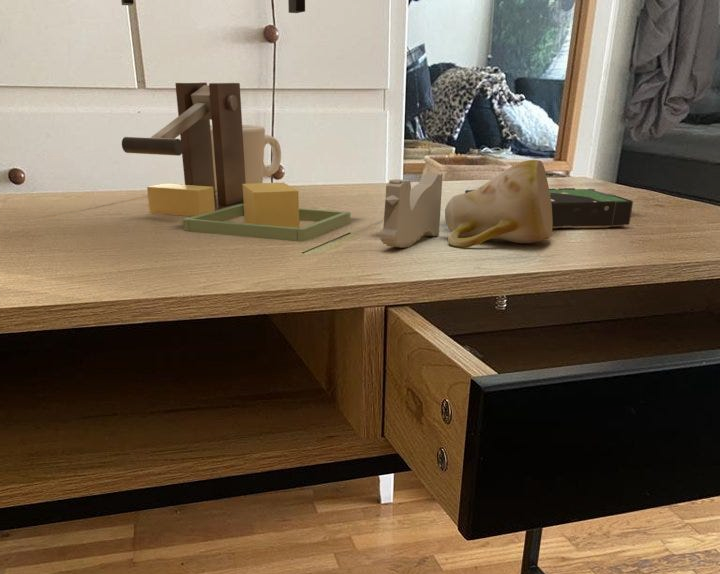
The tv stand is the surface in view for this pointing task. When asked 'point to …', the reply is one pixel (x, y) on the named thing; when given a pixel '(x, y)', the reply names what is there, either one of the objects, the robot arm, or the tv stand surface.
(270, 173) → the cup
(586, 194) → the disk drive
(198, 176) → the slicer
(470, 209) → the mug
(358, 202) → the tv stand surface
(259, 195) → the butter pat
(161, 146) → the lever
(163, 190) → the butter block
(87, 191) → the tv stand surface
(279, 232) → the dish
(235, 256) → the tv stand surface
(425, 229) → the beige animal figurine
